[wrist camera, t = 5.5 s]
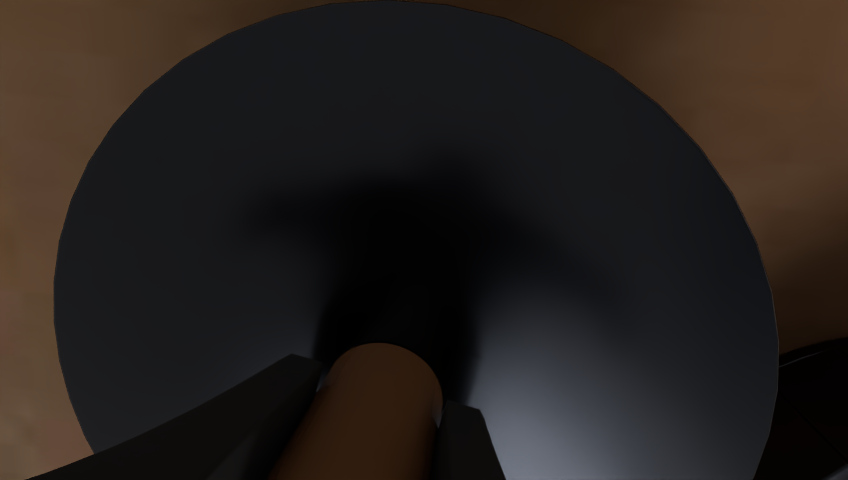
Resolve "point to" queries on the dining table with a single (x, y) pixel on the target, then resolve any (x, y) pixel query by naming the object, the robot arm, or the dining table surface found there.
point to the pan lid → (419, 254)
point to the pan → (809, 416)
